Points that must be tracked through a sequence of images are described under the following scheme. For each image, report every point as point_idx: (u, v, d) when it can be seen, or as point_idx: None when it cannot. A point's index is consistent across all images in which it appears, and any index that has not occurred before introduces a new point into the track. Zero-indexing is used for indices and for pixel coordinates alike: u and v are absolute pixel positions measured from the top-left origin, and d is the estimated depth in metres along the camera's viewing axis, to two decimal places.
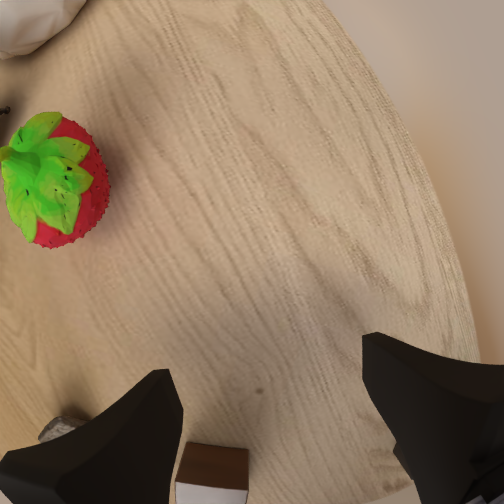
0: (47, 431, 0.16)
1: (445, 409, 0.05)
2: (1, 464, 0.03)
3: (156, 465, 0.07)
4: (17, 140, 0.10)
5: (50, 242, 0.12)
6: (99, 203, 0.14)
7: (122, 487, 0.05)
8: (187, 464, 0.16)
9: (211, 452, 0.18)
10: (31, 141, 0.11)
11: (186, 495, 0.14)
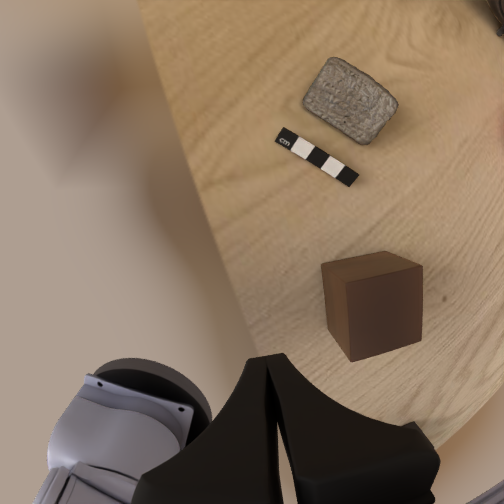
0: (371, 79, 0.14)
1: (290, 457, 0.05)
2: (151, 495, 0.03)
3: (275, 457, 0.07)
4: None
5: None
6: None
7: (275, 484, 0.05)
8: None
9: None
10: None
11: (403, 283, 0.14)
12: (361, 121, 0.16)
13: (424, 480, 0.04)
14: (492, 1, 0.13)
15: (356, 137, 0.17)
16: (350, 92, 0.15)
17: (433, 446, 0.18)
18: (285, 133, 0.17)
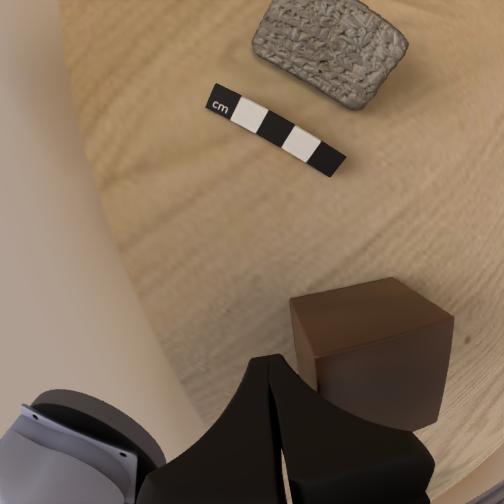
0: (360, 2, 0.07)
1: None
2: (157, 495, 0.03)
3: (278, 456, 0.07)
4: None
5: None
6: None
7: (280, 483, 0.05)
8: None
9: None
10: None
11: (419, 349, 0.08)
12: (346, 68, 0.09)
13: (419, 482, 0.04)
14: None
15: (340, 96, 0.10)
16: (325, 22, 0.08)
17: None
18: (220, 93, 0.10)
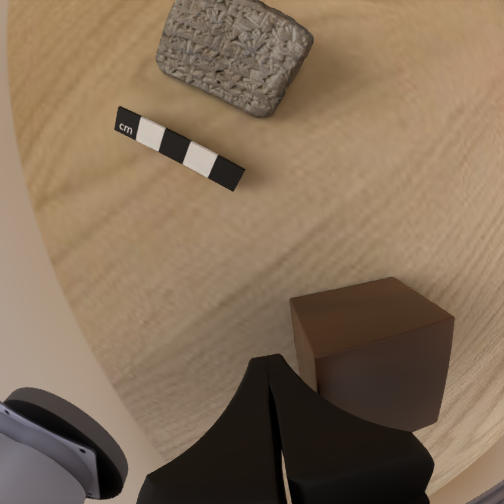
0: (254, 2, 0.07)
1: None
2: (157, 496, 0.03)
3: (279, 456, 0.07)
4: None
5: None
6: None
7: (280, 483, 0.05)
8: None
9: None
10: None
11: (419, 350, 0.08)
12: (243, 75, 0.09)
13: (418, 483, 0.04)
14: None
15: (244, 105, 0.10)
16: (216, 30, 0.08)
17: None
18: (124, 115, 0.10)
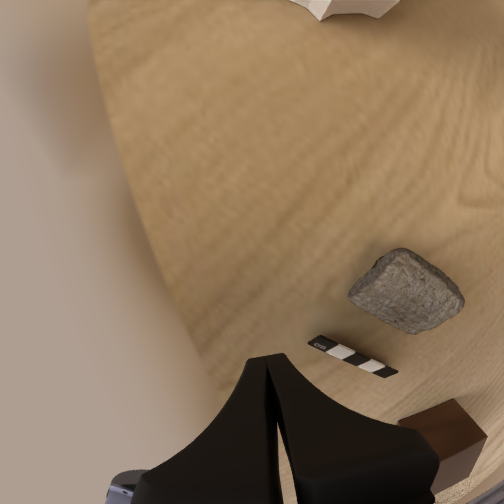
0: (443, 281, 0.11)
1: (290, 457, 0.05)
2: (151, 495, 0.03)
3: (275, 457, 0.07)
4: None
5: None
6: None
7: (275, 484, 0.05)
8: None
9: None
10: None
11: (468, 453, 0.11)
12: (415, 323, 0.12)
13: (425, 481, 0.04)
14: None
15: (404, 330, 0.13)
16: (412, 299, 0.11)
17: None
18: (321, 339, 0.13)
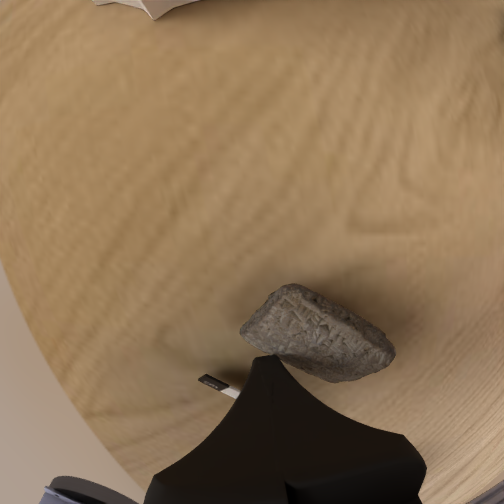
0: (357, 330, 0.09)
1: None
2: (165, 496, 0.03)
3: None
4: None
5: None
6: None
7: None
8: None
9: None
10: None
11: None
12: (327, 373, 0.10)
13: (411, 486, 0.04)
14: None
15: (319, 376, 0.11)
16: (313, 348, 0.09)
17: None
18: (210, 378, 0.11)
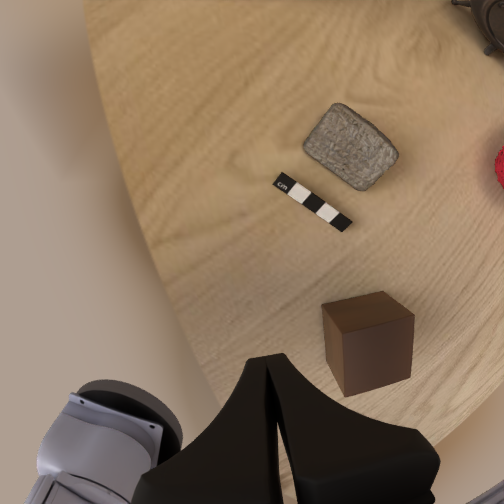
0: (374, 129, 0.15)
1: (290, 457, 0.05)
2: (151, 495, 0.03)
3: (275, 457, 0.07)
4: None
5: None
6: None
7: (275, 484, 0.05)
8: None
9: None
10: None
11: (395, 331, 0.16)
12: (359, 170, 0.17)
13: (424, 480, 0.04)
14: (479, 17, 0.13)
15: (353, 183, 0.18)
16: (351, 141, 0.16)
17: None
18: (283, 178, 0.17)
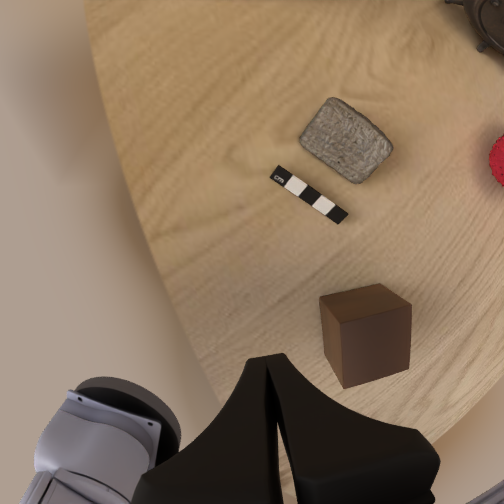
0: (368, 122, 0.15)
1: (290, 457, 0.05)
2: (151, 495, 0.03)
3: (275, 457, 0.07)
4: None
5: None
6: None
7: (275, 484, 0.05)
8: None
9: None
10: None
11: (392, 321, 0.16)
12: (354, 162, 0.17)
13: (425, 480, 0.04)
14: (471, 15, 0.14)
15: (349, 176, 0.18)
16: (345, 134, 0.16)
17: None
18: (280, 171, 0.18)
